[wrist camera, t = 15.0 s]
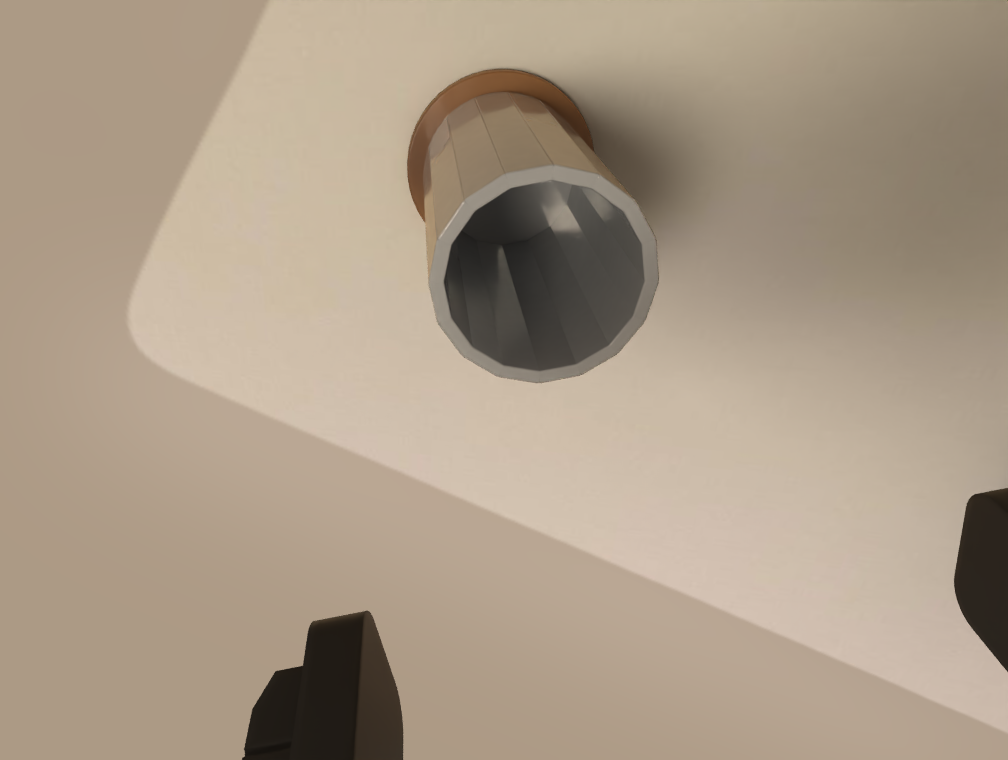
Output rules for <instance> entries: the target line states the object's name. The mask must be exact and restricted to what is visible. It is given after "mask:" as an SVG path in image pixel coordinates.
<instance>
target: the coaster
mask: <svg viewBox="0 0 1008 760" xmlns="http://www.w3.org/2000/svg"><path fill="white" fill-rule="evenodd" d="M494 92H515V93H521V94H525V95H528V96H531V97H534V98H536V99H538V100H541V101H542V102H544V103H545V104H547V105H548V106H550V107H551V108H552V109H553V110H554V111H556V112H557V113H558V114H559V115H561V116H562V117H563V118H564V119H565V120H566V121H567V122H568V123H569V124H570V126H571V127H572V128H573V129H574V130H575V131H576V132H577V134H578V135H579V136H580V137H581V138H582V139H583V141H584V142H585V143H586V144H587V145H588V146H589V148H590V149H591V150H592V151H593V152H594V148H593V142H592V139H591V135H590V132H589V129H588V127H587V125H586V123H585V120H584V118H583V117H582V115H581V114H580V112H579V110H578V109H577V107H576V106H575V105H574V104H573V103H572V102H571V100H570V99H569V98H568V97H567V96H566V95H565V94H564V93H563V92H561V91H560V90H559V89H558V88H557V87H555V86H554V85H552V84H551V83H549V82H548V81H546V80H544V79H542V78H540V77H538V76H536V75H533V74H530V73H526V72H523V71H517V70H511V69H494V70H486V71H482V72H478V73H474V74H471V75H469V76H466V77H464V78H461V79H459V80H458V81H456V82H454V83H453V84H451V85H449V86H448V87H447V88H445V89H444V90H443V91H442V92H440V93H439V94H438V95H437V96H436V97H435V98H434V99H433V100H432V101H431V102H430V104H429V105H428V106H427V108H426V109H425V110H424V112H423V113H422V115H421V117H420V119H419V120H418V122H417V124H416V126H415V129H414V132H413V134H412V137H411V141H410V145H409V151H408V160H407V170H408V182H409V188H410V192H411V195H412V198H413V201H414V204H415V206H416V208H417V210H418V212H419V214H420V216H421V217H422V219H423V220H424V222H425V207H424V188H423V173H424V166H425V158H426V154H427V150H428V146H429V144H430V142H431V139H432V137H433V135H434V133H435V132H436V130H437V128H438V127H439V125H440V124H441V123H442V121H443V120H444V119H445V118H446V117H447V116H448V115H449V114H450V113H451V112H452V111H453V110H455V109H456V108H457V107H458V106H460V105H461V104H463V103H465V102H467V101H468V100H470V99H473V98H475V97H477V96H480V95H484V94H488V93H494Z"/></svg>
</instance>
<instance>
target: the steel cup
mask: <svg viewBox="0 0 1008 760" xmlns="http://www.w3.org/2000/svg"><path fill="white" fill-rule="evenodd" d="M423 188H424V207H425V226H426V246H427V265H428V284H429V288H430V293H431V297H432V302H433V306H434V310H435V315H436V319H437V322H438V325H439V326H440V327H441V329H442V330H443V331H444V333H445V334H446V335H447V337H448V338H449V339H450V341H451V342H452V343H453V345H454V346H455V347H456V349H457V350H458V351H459V353H460V354H461V355H462V356H463V357H464V358H466V359H468V360H470V361H471V362H473V363H475V364H476V365H478V366H480V367H482V368H483V369H485V370H487V371H488V372H490V373H492V374H494V375H495V376H498V377H501V378H507V379H514V380H520V381H526V382H533V383H544V382H549V381H555V380H560V379H565V378H570V377H575V376H580V375H582V374H584V373H586V372H587V371H589V370H591V369H593V368H594V367H596V366H598V365H600V364H601V363H603V362H605V361H606V360H608V359H610V358H612V357H613V356H615V355H616V354H617V353H619V352H620V351H621V349H622V348H623V347H624V346H625V345H626V343H627V342H628V341H629V340H630V339H631V337H632V336H633V335H634V334H635V333H636V332H637V330H638V329H639V328H640V327H641V326H642V324H643V323H644V321H645V320H646V317H647V314H648V312H649V309H650V306H651V303H652V300H653V297H654V294H655V291H656V288H657V286H658V283H659V271H658V256H657V241H656V237H655V235H654V233H653V231H652V229H651V228H650V226H649V224H648V222H647V220H646V218H645V217H644V215H643V213H642V211H641V209H640V207H639V205H638V204H637V202H636V201H635V200H634V198H633V197H632V196H631V195H630V194H629V193H628V191H627V190H626V189H625V188H624V187H623V186H622V185H621V183H620V182H619V181H618V180H617V179H616V178H615V176H614V175H613V174H612V173H611V172H610V171H609V169H608V168H607V167H606V166H605V165H604V164H603V163H602V161H601V160H600V159H599V158H598V157H597V156H596V154H595V153H594V152H593V151H592V150H591V149H590V148H589V146H588V145H587V144H586V143H585V142H584V141H583V139H582V138H581V137H580V136H579V135H578V134H577V132H576V131H575V130H574V129H573V128H572V127H571V126H570V124H569V123H568V122H567V121H566V120H565V119H564V118H563V117H562V116H561V115H559V114H558V113H557V112H556V111H554V110H553V109H552V108H551V107H550V106H548V105H547V104H545V103H544V102H542V101H541V100H538V99H536V98H534V97H531V96H528V95H525V94H521V93H515V92H494V93H488V94H484V95H480V96H477V97H475V98H473V99H470V100H468V101H467V102H465V103H463V104H461V105H460V106H458V107H457V108H456V109H455V110H453V111H452V112H451V113H450V114H449V115H448V116H447V117H446V118H445V119H444V120H443V121H442V123H441V124H440V125H439V127H438V128H437V130H436V132H435V133H434V135H433V137H432V139H431V142H430V144H429V146H428V150H427V154H426V158H425V166H424V173H423Z"/></svg>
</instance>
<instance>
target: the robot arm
mask: <svg viewBox="0 0 1008 760" xmlns="http://www.w3.org/2000/svg"><path fill="white" fill-rule="evenodd" d="M954 587H955V593H956V597H957V601H958V604H959V606H960V609H961V611H962V613H963V615H964V617H965V619H966V620H967V622H968V623H969V625H970V626H971V627H972V629H973V630H974V631H975V632H976V634H977V635H978V636H979V637H980V639H981V640H982V641H983V642H984V643H985V645H986V646H987V647H988V648H989V650H990V651H991V652H992V653H993V655H994V656H995V657H996V658H997V659H998V661H999V662H1000V663H1001V664H1002V666H1003V667H1004V668H1005V669H1006V670H1007V672H1008V488H1005V489H1000V490H994V491H989V492H984V493H979V494H975V495H973V496H972V497H971V498H970V499H969V501H968V503H967V506H966V511H965V517H964V523H963V529H962V535H961V541H960V546H959V552H958V558H957V564H956V570H955V576H954ZM244 750H245V757H243V758H242V760H403V722H402V712H401V705H400V699H399V695H398V690H397V687H396V683H395V680H394V677H393V675H392V672H391V669H390V666H389V663H388V660H387V657H386V654H385V651H384V648H383V645H382V643H381V639H380V636H379V633H378V631H377V628H376V625H375V622H374V619H373V617H372V615H371V613H370V612H369V611H364V612H358V613H353V614H348V615H343V616H339V617H333V618H328V619H323V620H317V621H313V622H312V623H311V625H310V627H309V631H308V636H307V642H306V650H305V656H304V663H303V666H300V667H295V668H290V669H285V670H280V671H276V672H275V673H274V675H273V677H272V678H271V680H270V681H269V683H268V685H267V686H266V688H265V690H264V691H263V693H262V695H261V696H260V698H259V699H258V701H257V703H256V704H255V706H254V707H253V709H252V714H251V719H250V724H249V728H248V733H247V738H246V743H245V748H244Z"/></svg>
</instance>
